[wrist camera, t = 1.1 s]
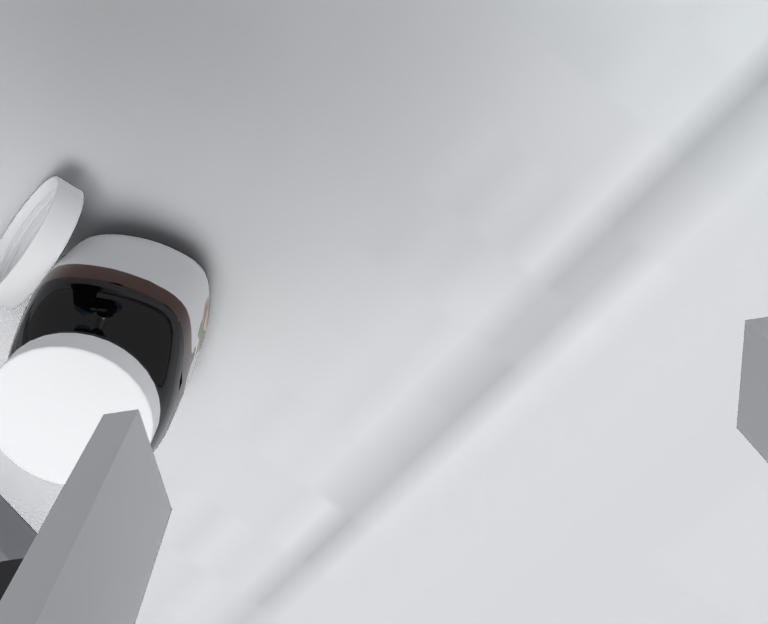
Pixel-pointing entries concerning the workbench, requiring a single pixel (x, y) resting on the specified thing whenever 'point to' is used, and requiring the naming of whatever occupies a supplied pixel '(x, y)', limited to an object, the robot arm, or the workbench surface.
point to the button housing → (13, 533)
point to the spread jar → (91, 332)
